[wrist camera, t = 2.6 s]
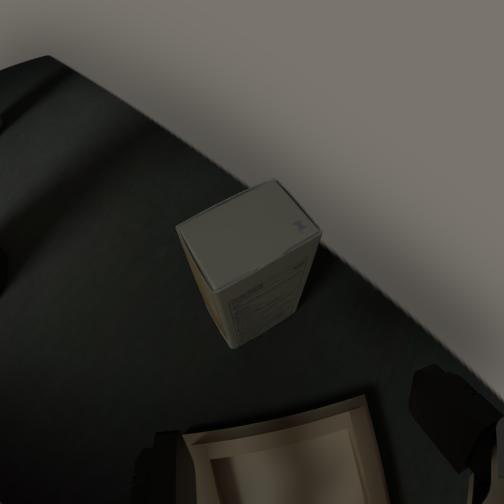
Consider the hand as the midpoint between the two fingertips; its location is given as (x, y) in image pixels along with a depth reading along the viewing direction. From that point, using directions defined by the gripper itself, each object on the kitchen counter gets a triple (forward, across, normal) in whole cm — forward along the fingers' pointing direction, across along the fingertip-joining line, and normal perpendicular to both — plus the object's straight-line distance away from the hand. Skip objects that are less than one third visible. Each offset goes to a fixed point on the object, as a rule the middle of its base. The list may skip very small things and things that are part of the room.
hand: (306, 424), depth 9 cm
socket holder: (+5, 0, +15) cm, 16 cm away
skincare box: (+17, 0, +4) cm, 17 cm away
